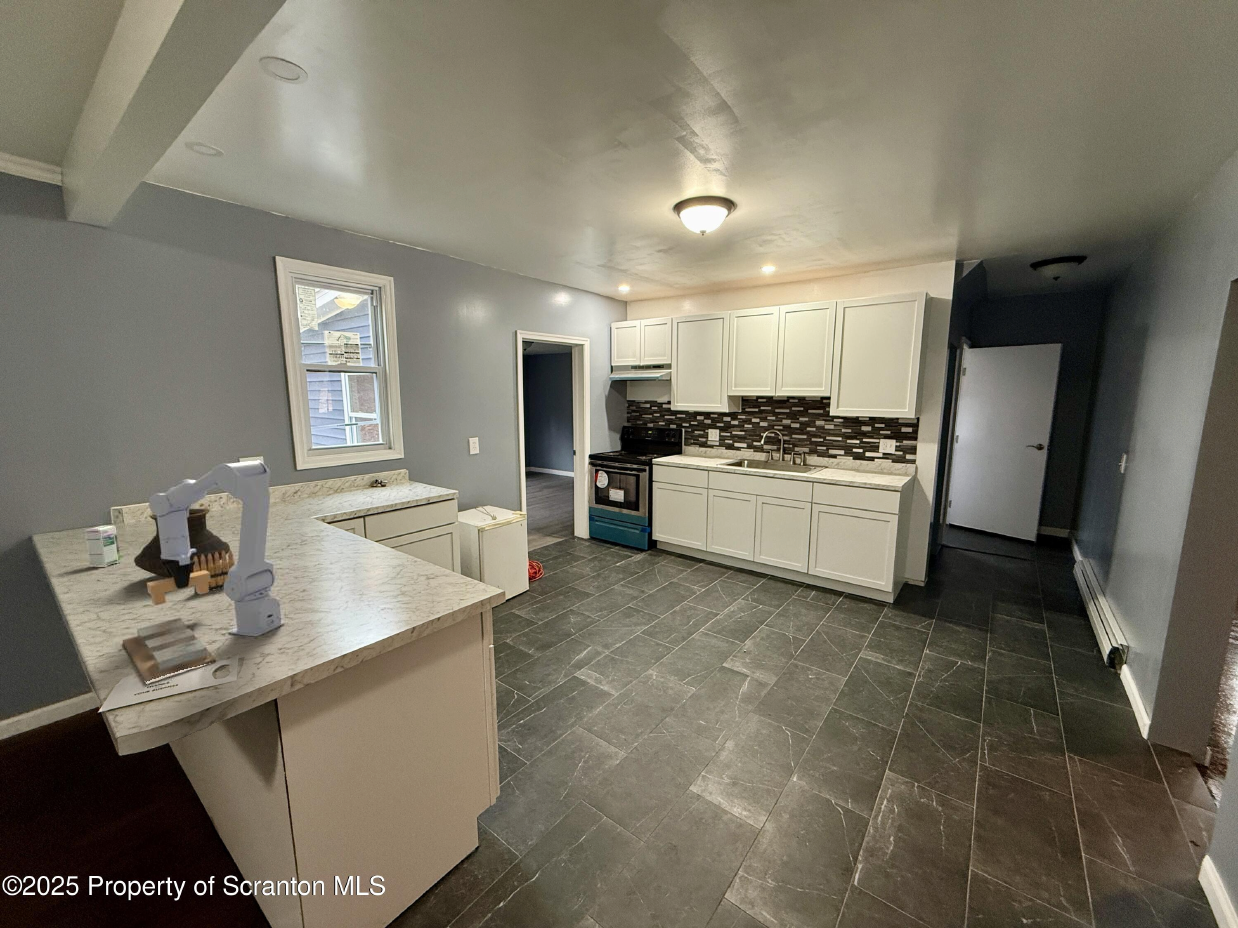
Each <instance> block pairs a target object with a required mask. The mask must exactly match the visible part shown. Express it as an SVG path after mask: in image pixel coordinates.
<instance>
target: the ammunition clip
mask: <svg viewBox="0 0 1238 928" xmlns="http://www.w3.org/2000/svg"><path fill="white" fill-rule="evenodd" d="M227 556H228V557H227ZM194 561H195V564H194V569H193V572H194V573H195V572H199V571H200V569H201V571H204V570H206V571H207V572H209V573H210V579H211V582H208V587H209V592H211V591H210V590H212V591H214V590H213V589H216V590H219V589H218V588H220V589H223V588H222V587H224V582H225V580H226V579H227V576H228V571H229V570H230V569H231V567H232V566H233V565H234V564H235V563H236V562H235V560H234V554H233V551H232V548H230V549H229V553H228V554H227V555H226V554H225V552H224V551H222V559H221V560H219V555H218V553H217V552H216V553H215V565H213V560H212V556H211V554H210V553H209V554H208V570H207V566H206V561H205V557H204V555H203V554H202V555H201V568H200V567H199V563H198V559H197V557H196V556H194ZM193 587H194V594H195V595H199V594H198V593H197V592H196V585H194V586H193Z"/></svg>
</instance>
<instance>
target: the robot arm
mask: <svg viewBox="0 0 1238 928" xmlns="http://www.w3.org/2000/svg"><path fill="white" fill-rule="evenodd" d="M270 478H271V470H270V469H269V468H268V467H267V465H266V464H265V463H264V462H263V461H261V460H258V459H252V460H249V461H248V460H247V461H241V462H232V463H231V462H230V463H220V464H218V465H217V466H214V467H212V468H211V470H210V471H208V473H205V474H204V475H203V476H202V477H200V478H198V479H197V480H195V479H189V478H187V479H183V480H180V481H179V483H180V484H179V485H177V486H174V487H170V488H168V491H166V492H164V493H160V492H159V493H154V494H153V495H151V497H149V501H148V507H149V509H150V511H151V513H152V515H153V514H155V515H157V521H158V529H159V537H160V545H161V553H162V554H161V558H162V559H166V560H161V561H160V563H161V564H162V565H163V567H164V568H165V570H166V572H167V574H168V576H169V578H172V577H173V578H174V581H175V584H176V587H177V588H178V589H177V590H180V588H181V589H185V588H184V587H186V588H189V587H188V585H189V580H190V574H191V570H192V568H193V566H194V564H195V561H194V560H191V561H190V555H191V553H194V552H196V549H190V542H189V534H188V525H187V517H188V516H189V509H191V506H192V505H193V504H196V503H197V502H199V501H201V500H203V499H204V498H206V496H207V493H208V491H210V490H213V489H215V488H217V487H219V488H220V489H221V490H223V491H224V492H226V493H227V494H228V495H230V496H231V497H232V498H234V499H235V500H236V499H237V500H240V501H241V502H242V505H241V506H242V507H241V520H240V521H241V522H240V530H239V531H240V532H239V543H238V545H239V546H238V555H237V561H236V562H235V564H234V565H233V566H232V567H231V569H230V570H229V569H228V570H229V571H228V576H227V579H226V580H225V582H224V588H223V591H224V594H225V596H226V597H227V598H228V599H230V601H232V602H233V603H234V611H235V621H236V622H235V623H236V627H235V628H234V627H233V628H232V629H230V630H228V634H234V635H240V636H248V637H249V636H250V637H255V638H256V637H259V636H262V635H263V634H265V633H267V632H270V631H272V630H274V629H277V628H278V627H280V626H283V625H285V621H282V615H281V605H280V604H281V603H280V601H279V600H278V599H277V598H276V597H273V596H272V595H271V594H270V592H271V591H272V587H273V586H274V584H275V582H276V575H275V572H274V563H272V562H271V561H269V560H268V559H266V558H265V557H266V546H267V544H266V543H267V534H268V524H269V513H270V503H271V502H270V501H271V494H270V480H271V479H270Z"/></svg>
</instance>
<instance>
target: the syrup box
mask: <svg viewBox="0 0 1238 928" xmlns="http://www.w3.org/2000/svg"><path fill="white" fill-rule="evenodd" d="M84 534H85V542H86V548H87V552H88V553H87V554H88V561H89V566H90V565H108V564H111V563H115V562H117V561H119V560H121V554H120V547H119V541H118V533H117V527H116V525H100V526H96V527H92V528H88V529H84ZM121 561H122V560H121Z"/></svg>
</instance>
